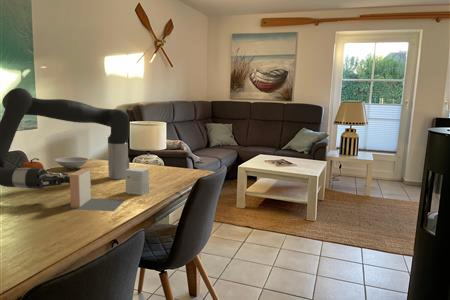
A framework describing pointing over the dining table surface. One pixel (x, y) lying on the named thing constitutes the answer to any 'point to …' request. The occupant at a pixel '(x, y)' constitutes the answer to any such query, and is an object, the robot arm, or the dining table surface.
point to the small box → (137, 181)
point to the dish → (72, 161)
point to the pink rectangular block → (80, 188)
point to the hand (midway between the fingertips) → (76, 179)
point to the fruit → (32, 164)
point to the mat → (99, 205)
